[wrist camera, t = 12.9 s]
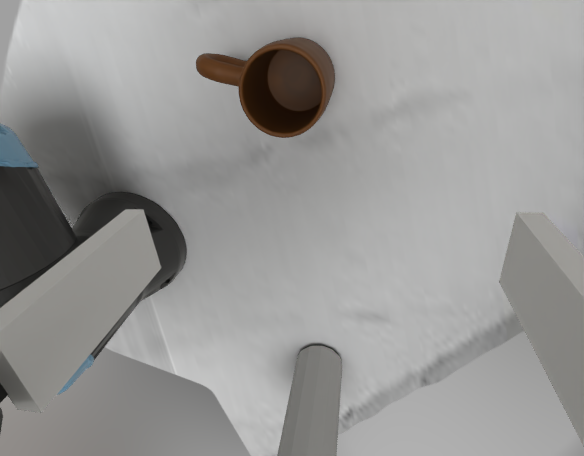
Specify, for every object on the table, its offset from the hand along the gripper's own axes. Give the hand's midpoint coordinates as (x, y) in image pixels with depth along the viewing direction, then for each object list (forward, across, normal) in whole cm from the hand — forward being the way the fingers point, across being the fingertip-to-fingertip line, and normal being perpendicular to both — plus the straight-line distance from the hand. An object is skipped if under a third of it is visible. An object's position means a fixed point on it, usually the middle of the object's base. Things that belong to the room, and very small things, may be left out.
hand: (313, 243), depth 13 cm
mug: (+29, -7, +3) cm, 30 cm away
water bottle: (+29, -5, -40) cm, 50 cm away
